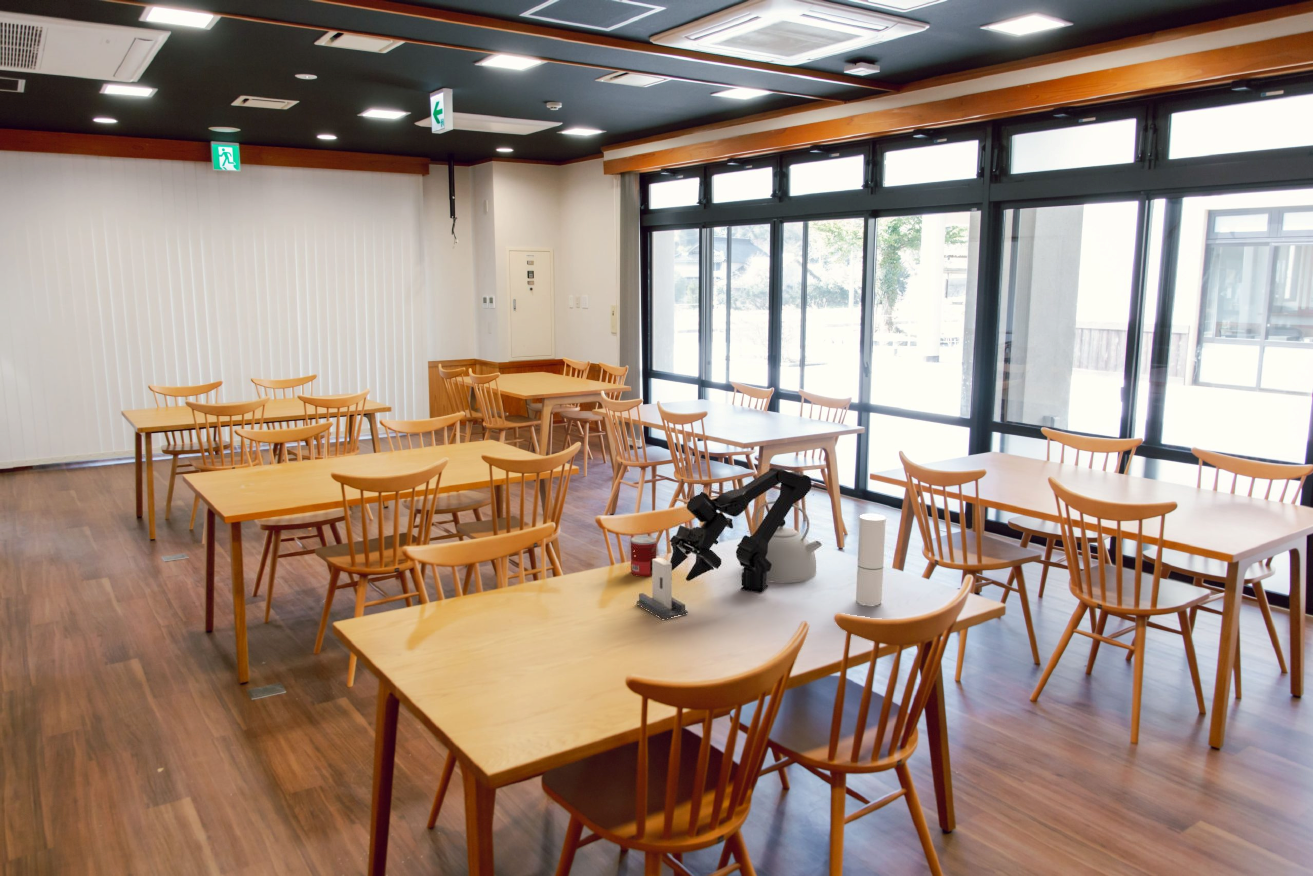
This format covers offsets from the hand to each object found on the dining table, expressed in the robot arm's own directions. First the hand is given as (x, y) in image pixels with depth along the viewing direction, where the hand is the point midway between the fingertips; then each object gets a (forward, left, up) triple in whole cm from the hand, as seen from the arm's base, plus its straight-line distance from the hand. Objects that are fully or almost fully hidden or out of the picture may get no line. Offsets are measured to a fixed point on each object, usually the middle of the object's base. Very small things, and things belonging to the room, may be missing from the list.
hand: (677, 575), depth 251 cm
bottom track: (+3, +4, -9) cm, 10 cm away
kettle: (-17, -42, -9) cm, 47 cm away
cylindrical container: (-48, -27, -9) cm, 56 cm away
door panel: (+3, +4, -8) cm, 9 cm away
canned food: (+21, -21, -9) cm, 31 cm away
